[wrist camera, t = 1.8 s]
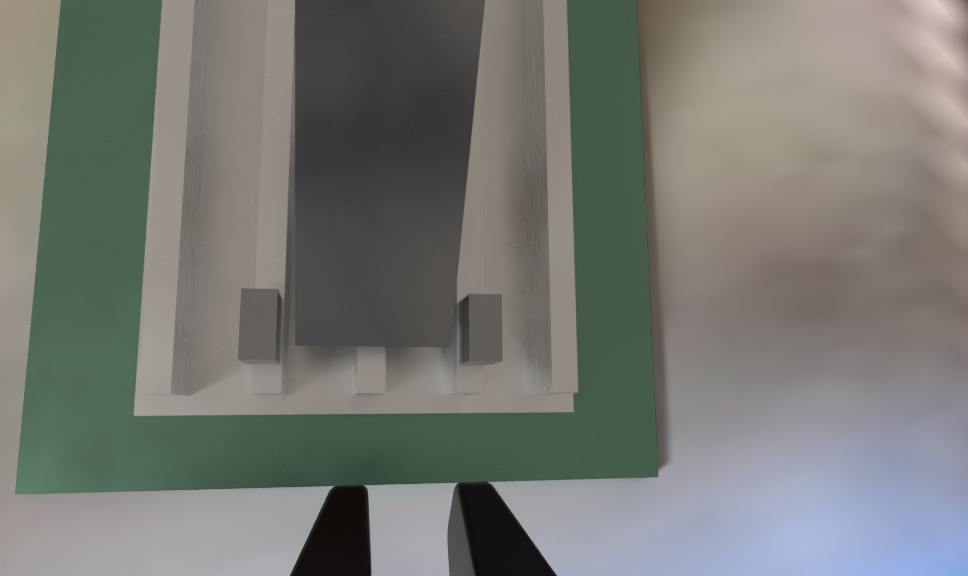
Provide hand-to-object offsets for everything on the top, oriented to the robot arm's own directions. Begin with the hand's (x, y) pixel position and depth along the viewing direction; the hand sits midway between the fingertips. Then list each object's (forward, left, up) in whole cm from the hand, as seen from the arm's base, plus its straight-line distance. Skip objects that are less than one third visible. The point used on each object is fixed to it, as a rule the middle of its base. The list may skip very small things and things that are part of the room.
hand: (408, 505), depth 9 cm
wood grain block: (+4, -6, -6) cm, 10 cm away
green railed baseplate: (+5, -7, -14) cm, 16 cm away
